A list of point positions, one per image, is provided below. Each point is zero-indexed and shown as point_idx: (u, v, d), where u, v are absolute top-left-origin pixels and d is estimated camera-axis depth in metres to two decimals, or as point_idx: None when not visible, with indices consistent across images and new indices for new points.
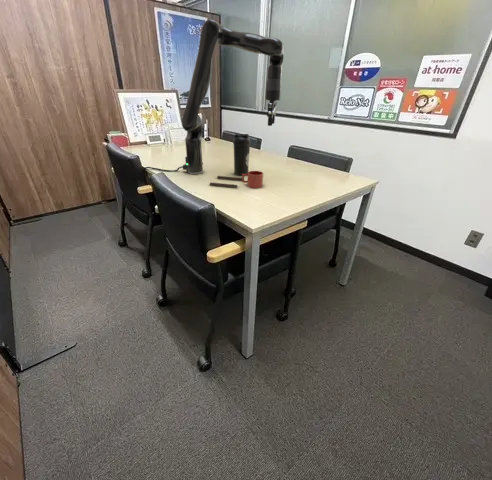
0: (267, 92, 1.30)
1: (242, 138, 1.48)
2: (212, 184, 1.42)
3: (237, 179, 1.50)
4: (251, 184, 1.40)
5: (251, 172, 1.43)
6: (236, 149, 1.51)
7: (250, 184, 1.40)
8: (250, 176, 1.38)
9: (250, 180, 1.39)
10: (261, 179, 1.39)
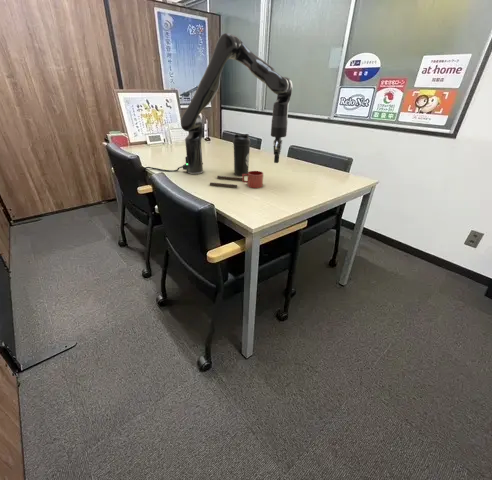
0: (273, 129, 1.25)
1: (242, 138, 1.48)
2: (212, 184, 1.42)
3: (237, 179, 1.50)
4: (251, 184, 1.40)
5: (251, 172, 1.43)
6: (236, 149, 1.51)
7: (250, 184, 1.40)
8: (250, 176, 1.38)
9: (250, 180, 1.39)
10: (261, 179, 1.39)
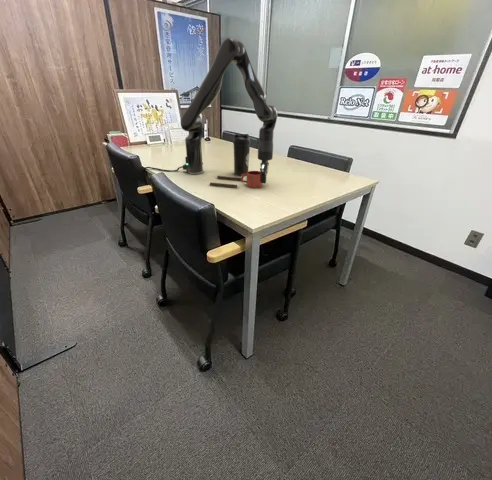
0: (259, 153, 1.32)
1: (242, 138, 1.48)
2: (212, 184, 1.42)
3: (237, 179, 1.50)
4: (250, 184, 1.40)
5: (250, 172, 1.43)
6: (236, 149, 1.51)
7: (249, 184, 1.40)
8: (249, 176, 1.38)
9: (249, 180, 1.39)
10: (260, 178, 1.39)
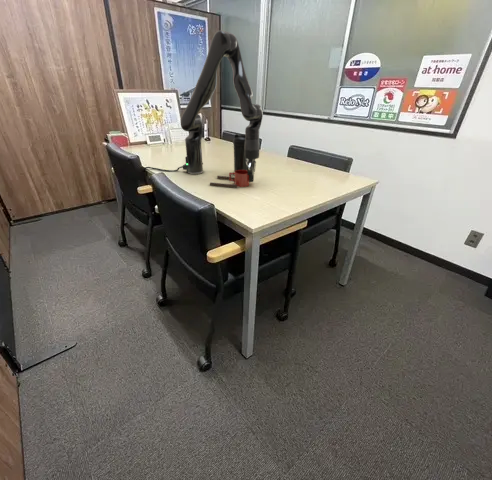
0: (245, 151, 1.33)
1: (242, 138, 1.48)
2: (212, 184, 1.42)
3: None
4: (237, 183, 1.41)
5: (238, 171, 1.44)
6: (236, 149, 1.51)
7: (236, 183, 1.42)
8: (236, 175, 1.39)
9: (236, 179, 1.41)
10: (247, 177, 1.40)
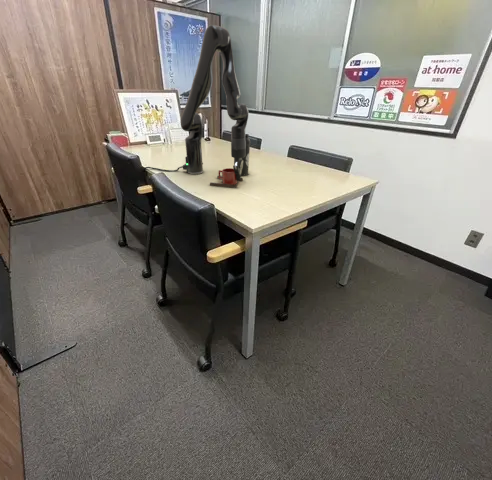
0: (232, 150, 1.35)
1: None
2: (212, 184, 1.42)
3: None
4: (224, 181, 1.44)
5: (227, 169, 1.47)
6: None
7: (223, 181, 1.44)
8: (223, 173, 1.42)
9: (223, 177, 1.43)
10: (233, 176, 1.42)
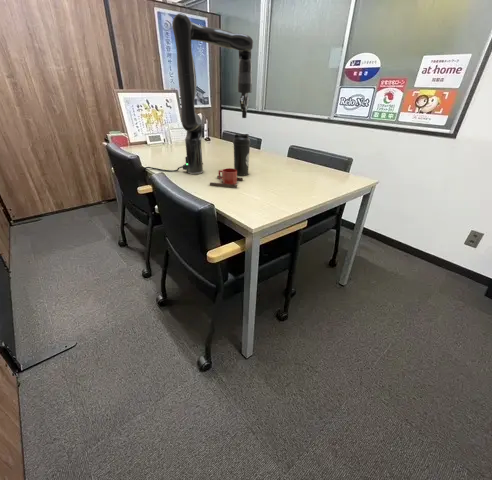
0: (239, 85, 1.41)
1: (242, 138, 1.48)
2: (212, 184, 1.42)
3: (237, 179, 1.50)
4: (224, 181, 1.44)
5: (227, 169, 1.47)
6: (236, 149, 1.51)
7: (223, 181, 1.44)
8: (223, 173, 1.42)
9: (223, 177, 1.43)
10: (233, 176, 1.42)
